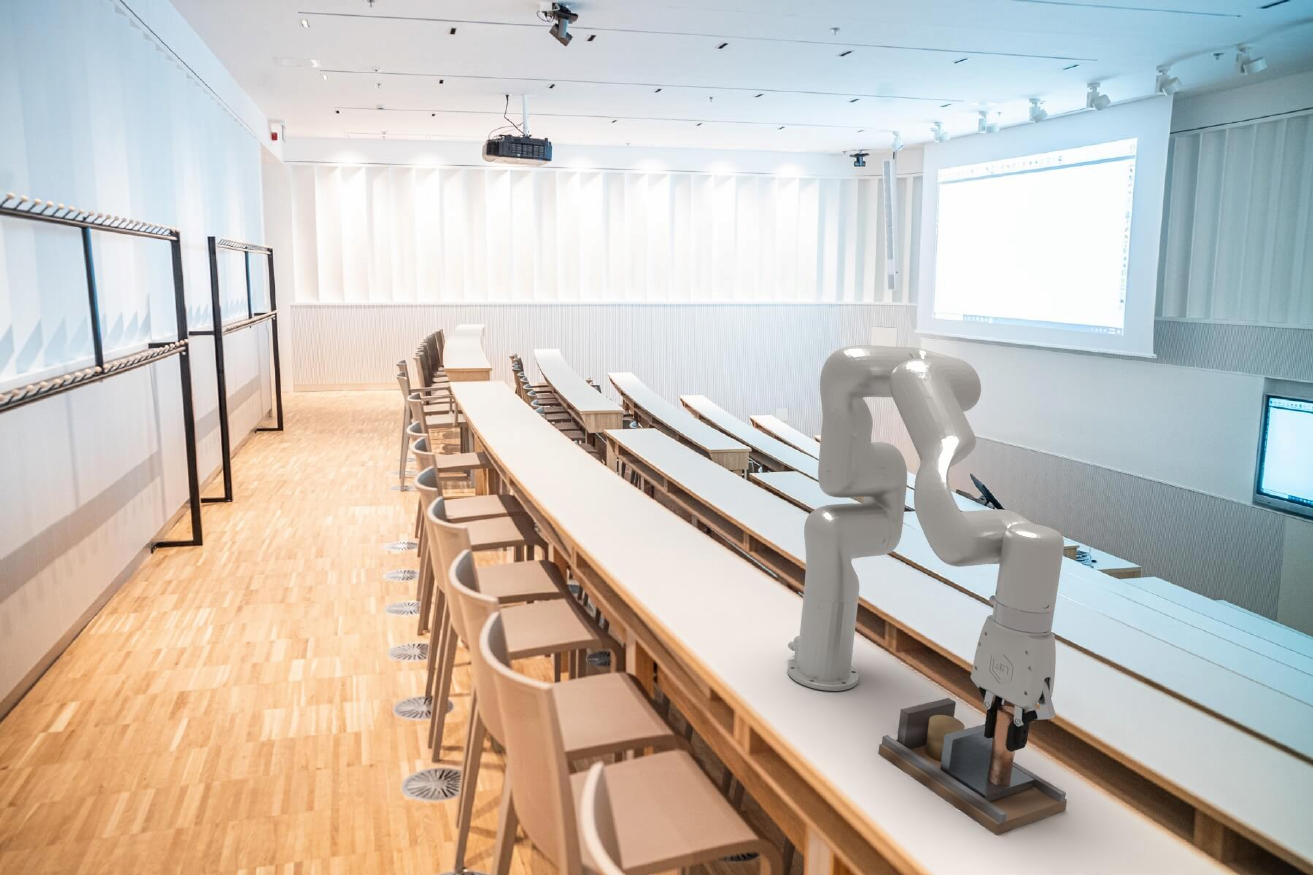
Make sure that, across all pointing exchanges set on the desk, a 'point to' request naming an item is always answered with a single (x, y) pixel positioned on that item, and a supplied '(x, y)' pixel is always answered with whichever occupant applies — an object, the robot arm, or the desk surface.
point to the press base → (927, 771)
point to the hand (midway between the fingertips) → (1004, 741)
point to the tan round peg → (940, 734)
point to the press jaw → (985, 759)
